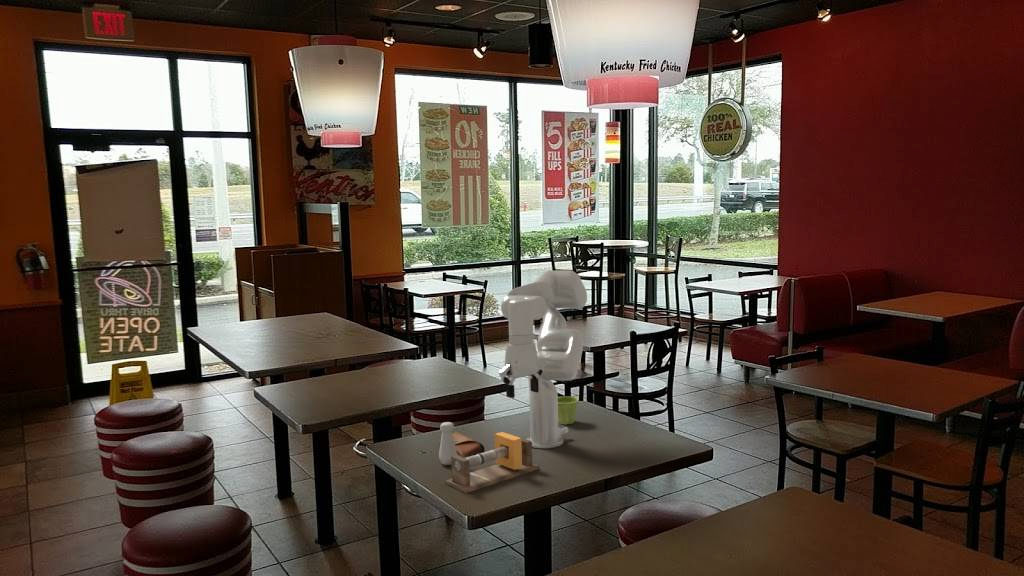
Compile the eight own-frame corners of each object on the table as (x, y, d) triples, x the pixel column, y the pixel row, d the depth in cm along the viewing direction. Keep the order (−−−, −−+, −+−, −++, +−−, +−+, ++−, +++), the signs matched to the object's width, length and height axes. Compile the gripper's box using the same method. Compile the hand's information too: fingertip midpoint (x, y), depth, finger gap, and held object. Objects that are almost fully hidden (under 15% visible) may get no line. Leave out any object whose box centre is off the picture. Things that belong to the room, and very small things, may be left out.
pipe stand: (517, 460, 236) (517, 434, 235) (539, 468, 228) (538, 441, 227) (445, 483, 218) (444, 455, 217) (466, 493, 210) (465, 464, 209)
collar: (503, 460, 231) (502, 431, 230) (522, 467, 224) (521, 438, 223) (495, 462, 229) (494, 433, 228) (514, 469, 222) (513, 440, 221)
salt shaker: (454, 466, 232) (453, 426, 231) (436, 465, 233) (435, 425, 232) (459, 460, 238) (458, 420, 236) (442, 459, 239) (440, 420, 238)
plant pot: (571, 427, 270) (571, 404, 269) (548, 424, 274) (548, 401, 273) (583, 420, 278) (582, 398, 277) (560, 417, 282) (559, 395, 281)
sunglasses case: (435, 444, 255) (443, 425, 256) (451, 450, 259) (459, 432, 260) (463, 457, 240) (471, 438, 241) (479, 464, 244) (487, 445, 245)
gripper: (534, 334, 236) (535, 387, 237) (491, 341, 225) (493, 397, 226) (550, 337, 230) (551, 391, 231) (507, 344, 219) (508, 401, 221)
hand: (522, 394), depth 229 cm, fingers open, 9 cm apart
